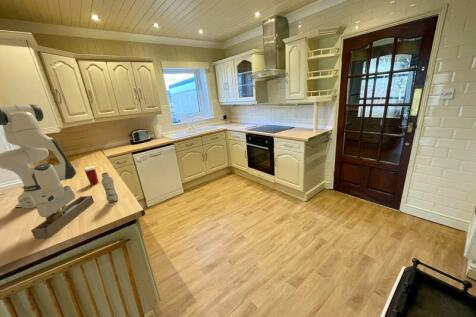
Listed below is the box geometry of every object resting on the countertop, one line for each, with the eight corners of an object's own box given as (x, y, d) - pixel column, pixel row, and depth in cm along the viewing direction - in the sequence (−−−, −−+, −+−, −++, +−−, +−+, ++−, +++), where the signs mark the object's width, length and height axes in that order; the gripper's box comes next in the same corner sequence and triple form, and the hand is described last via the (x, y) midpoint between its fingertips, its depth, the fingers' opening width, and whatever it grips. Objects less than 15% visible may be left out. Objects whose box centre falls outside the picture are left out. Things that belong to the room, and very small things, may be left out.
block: (48, 224, 109) (45, 217, 107) (55, 219, 113) (52, 212, 112) (56, 224, 109) (53, 216, 107) (63, 218, 113) (60, 212, 111)
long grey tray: (35, 238, 103) (30, 230, 101) (82, 203, 135) (80, 196, 133) (49, 237, 103) (45, 229, 101) (94, 202, 135) (91, 195, 133)
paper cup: (102, 181, 168) (97, 166, 164) (92, 186, 162) (87, 169, 157) (96, 180, 171) (91, 165, 167) (87, 184, 165) (81, 169, 160)
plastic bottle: (110, 199, 138) (102, 172, 131) (120, 197, 138) (112, 171, 131) (105, 204, 131) (96, 176, 125) (116, 202, 132) (107, 174, 125)
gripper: (63, 184, 121) (71, 204, 125) (30, 202, 102) (41, 225, 106) (73, 184, 121) (81, 204, 125) (42, 202, 102) (53, 224, 106)
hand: (63, 214), depth 116 cm, fingers closed
